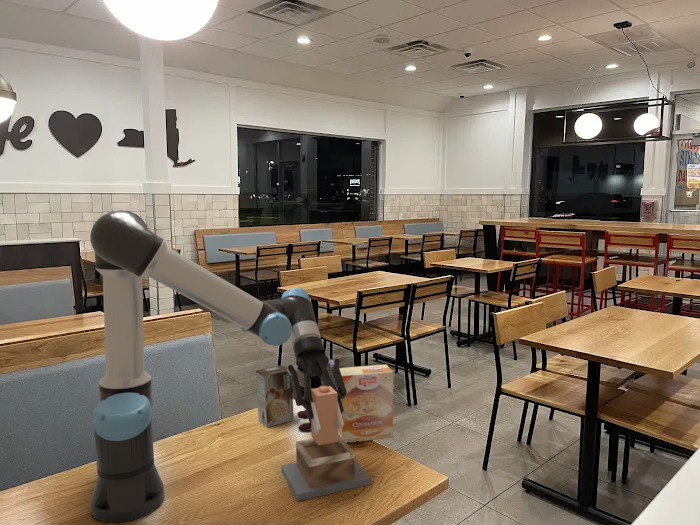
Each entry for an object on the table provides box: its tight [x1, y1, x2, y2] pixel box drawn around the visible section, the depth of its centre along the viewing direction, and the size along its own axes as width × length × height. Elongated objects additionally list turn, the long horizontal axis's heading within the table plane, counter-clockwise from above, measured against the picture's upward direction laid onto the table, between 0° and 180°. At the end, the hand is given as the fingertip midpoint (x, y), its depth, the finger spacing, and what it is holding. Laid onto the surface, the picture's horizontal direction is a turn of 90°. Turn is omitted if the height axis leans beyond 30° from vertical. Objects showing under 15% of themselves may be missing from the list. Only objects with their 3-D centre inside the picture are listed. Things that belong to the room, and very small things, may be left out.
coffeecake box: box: [338, 364, 394, 444], centre depth 148 cm, size 15×7×20 cm, turn 103°
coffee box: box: [255, 364, 295, 428], centre depth 159 cm, size 9×6×16 cm
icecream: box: [297, 409, 312, 432], centre depth 153 cm, size 7×7×15 cm
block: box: [311, 385, 338, 445], centre depth 125 cm, size 5×5×13 cm
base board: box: [280, 458, 372, 502], centre depth 127 cm, size 18×14×2 cm
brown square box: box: [295, 435, 355, 488], centre depth 127 cm, size 11×11×6 cm
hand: (329, 428), depth 122 cm, fingers closed on block, 5 cm apart
